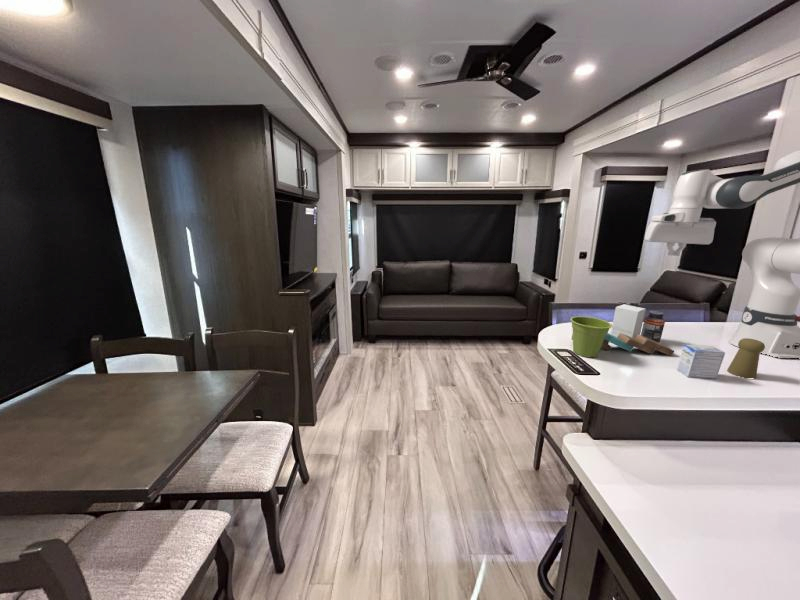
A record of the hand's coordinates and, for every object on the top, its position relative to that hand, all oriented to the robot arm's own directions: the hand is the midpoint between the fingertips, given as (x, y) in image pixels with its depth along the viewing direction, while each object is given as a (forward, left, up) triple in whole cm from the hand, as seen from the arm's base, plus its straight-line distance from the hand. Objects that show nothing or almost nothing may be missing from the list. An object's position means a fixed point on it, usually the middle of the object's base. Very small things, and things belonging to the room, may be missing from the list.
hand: (673, 255), depth 118 cm
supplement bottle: (+6, +10, -31) cm, 33 cm away
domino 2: (+24, +21, -31) cm, 45 cm away
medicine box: (+6, +36, -31) cm, 48 cm away
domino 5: (+6, +21, -30) cm, 37 cm away
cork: (-8, +32, -31) cm, 45 cm away
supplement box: (+15, +11, -31) cm, 36 cm away
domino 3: (+18, +21, -30) cm, 41 cm away
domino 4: (+12, +21, -30) cm, 39 cm away
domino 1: (+26, +21, -29) cm, 44 cm away
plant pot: (+34, +29, -31) cm, 55 cm away
